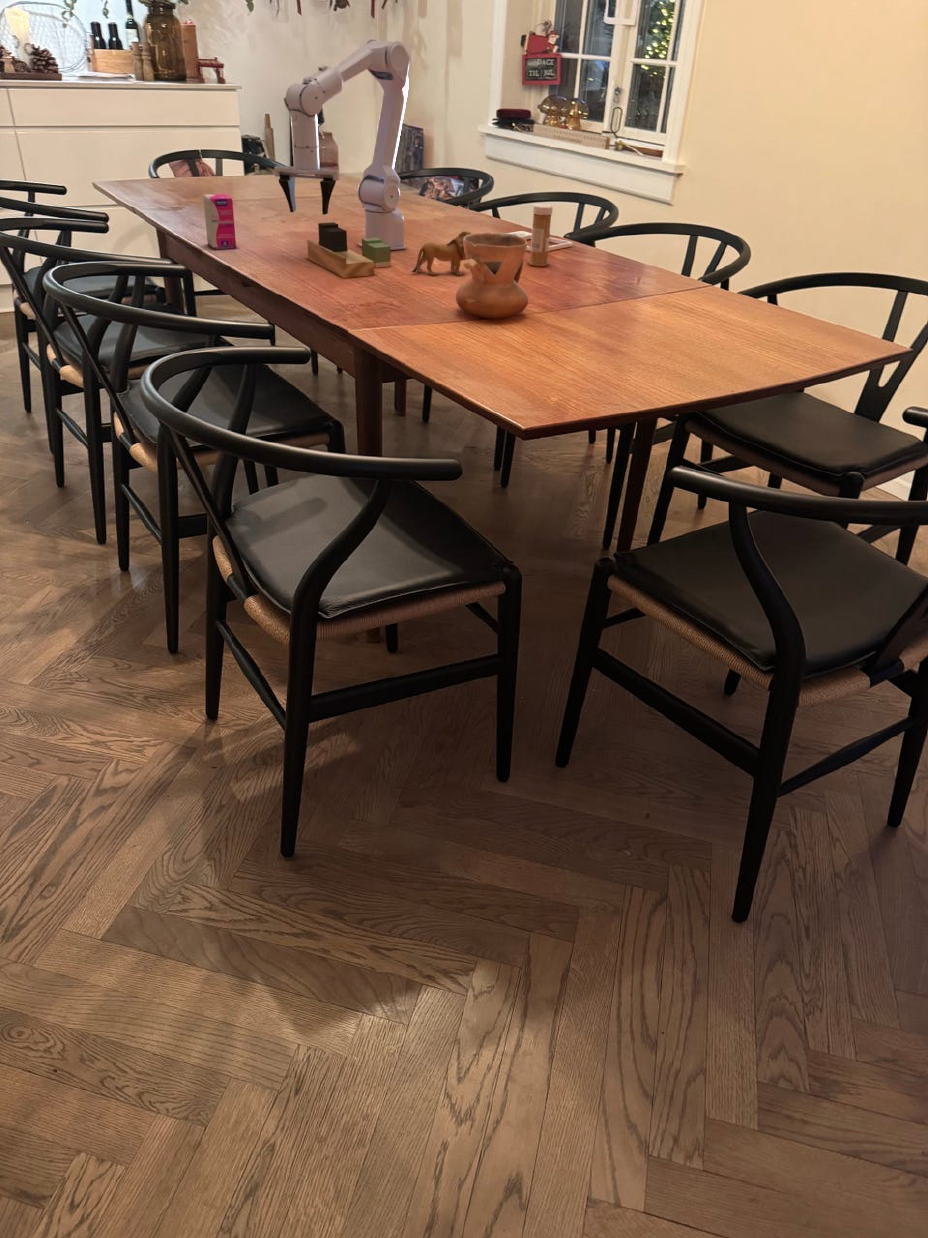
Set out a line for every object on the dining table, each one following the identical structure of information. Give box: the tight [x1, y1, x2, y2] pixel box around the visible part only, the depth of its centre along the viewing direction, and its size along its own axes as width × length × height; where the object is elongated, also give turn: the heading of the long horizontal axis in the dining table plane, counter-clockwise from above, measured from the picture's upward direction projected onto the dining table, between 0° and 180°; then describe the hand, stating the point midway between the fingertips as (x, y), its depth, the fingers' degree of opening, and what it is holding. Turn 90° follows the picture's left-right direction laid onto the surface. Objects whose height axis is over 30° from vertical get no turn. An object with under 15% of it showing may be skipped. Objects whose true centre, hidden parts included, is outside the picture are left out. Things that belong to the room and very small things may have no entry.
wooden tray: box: [306, 239, 375, 279], centre depth 204 cm, size 8×20×4 cm, turn 32°
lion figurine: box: [411, 230, 472, 276], centre depth 201 cm, size 15×5×9 cm, turn 110°
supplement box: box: [202, 193, 237, 250], centre depth 214 cm, size 6×6×12 cm
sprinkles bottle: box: [529, 203, 554, 267], centre depth 212 cm, size 5×5×14 cm
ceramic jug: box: [455, 232, 529, 319], centre depth 174 cm, size 18×14×14 cm
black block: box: [317, 221, 348, 252], centre depth 206 cm, size 4×8×5 cm, turn 32°
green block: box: [361, 238, 392, 269], centre depth 208 cm, size 4×8×5 cm, turn 32°
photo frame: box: [505, 230, 574, 252], centre depth 235 cm, size 15×1×18 cm
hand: (309, 212), depth 205 cm, fingers open, 7 cm apart
